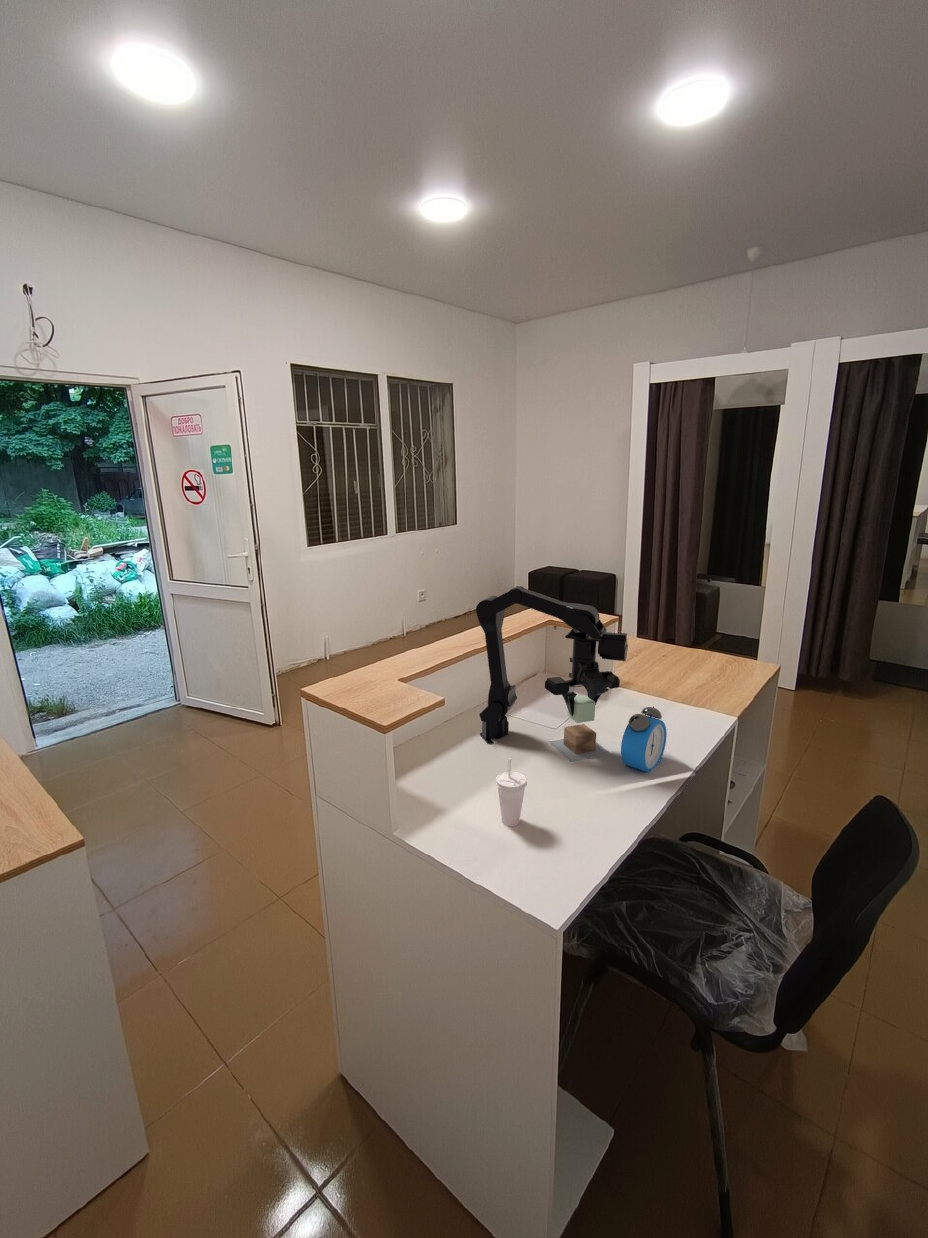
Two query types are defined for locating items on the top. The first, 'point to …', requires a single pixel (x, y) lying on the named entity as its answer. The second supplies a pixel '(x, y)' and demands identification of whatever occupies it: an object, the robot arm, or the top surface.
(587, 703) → the sage cube
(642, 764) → the alarm clock
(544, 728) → the top surface
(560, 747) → the mat
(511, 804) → the smoothie
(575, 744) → the walnut block
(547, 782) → the top surface
